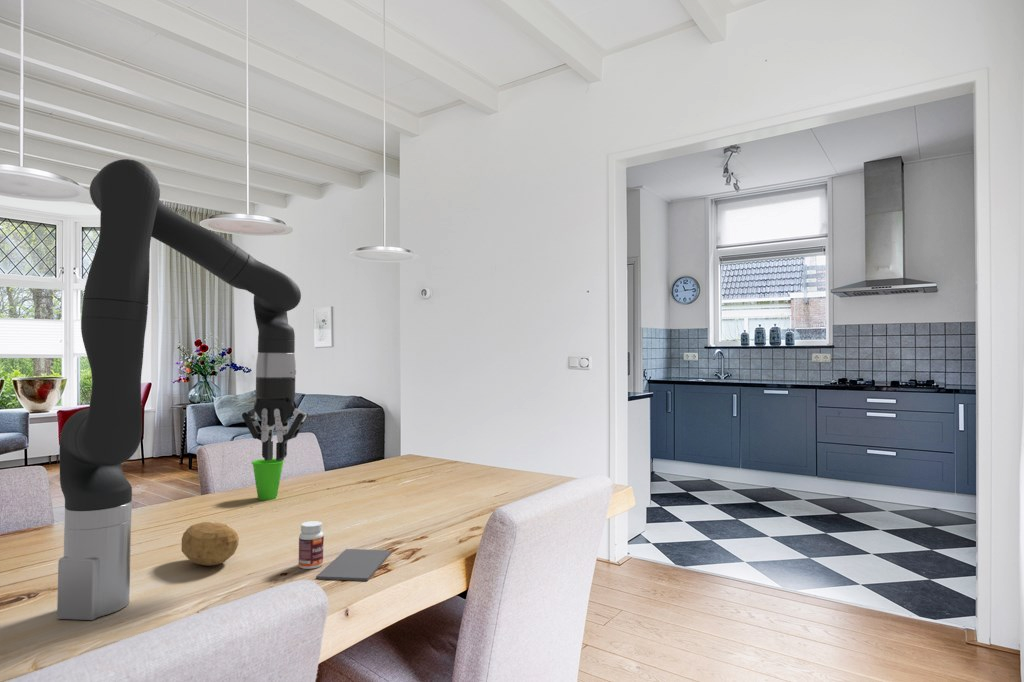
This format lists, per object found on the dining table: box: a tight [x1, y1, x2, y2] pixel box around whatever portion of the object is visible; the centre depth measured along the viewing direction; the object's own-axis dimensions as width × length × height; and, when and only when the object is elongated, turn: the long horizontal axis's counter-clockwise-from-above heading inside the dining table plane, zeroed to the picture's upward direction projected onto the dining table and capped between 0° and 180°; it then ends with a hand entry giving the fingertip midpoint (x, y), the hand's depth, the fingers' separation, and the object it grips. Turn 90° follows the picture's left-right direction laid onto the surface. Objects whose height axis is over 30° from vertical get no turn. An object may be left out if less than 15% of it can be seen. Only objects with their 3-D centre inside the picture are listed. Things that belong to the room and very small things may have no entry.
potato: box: [181, 521, 240, 567], centre depth 120 cm, size 10×14×8 cm
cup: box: [251, 457, 285, 501], centre depth 175 cm, size 9×9×11 cm
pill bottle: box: [298, 520, 325, 570], centre depth 120 cm, size 5×5×8 cm
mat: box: [315, 548, 392, 582], centre depth 120 cm, size 16×10×1 cm, turn 176°
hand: (274, 459), depth 121 cm, fingers closed
